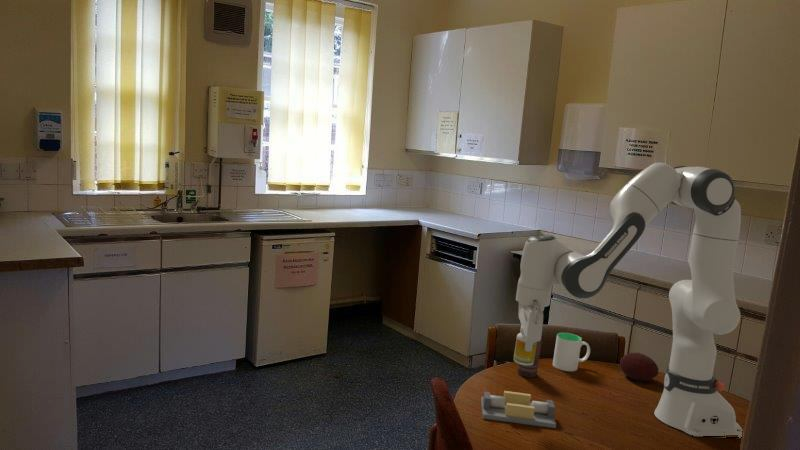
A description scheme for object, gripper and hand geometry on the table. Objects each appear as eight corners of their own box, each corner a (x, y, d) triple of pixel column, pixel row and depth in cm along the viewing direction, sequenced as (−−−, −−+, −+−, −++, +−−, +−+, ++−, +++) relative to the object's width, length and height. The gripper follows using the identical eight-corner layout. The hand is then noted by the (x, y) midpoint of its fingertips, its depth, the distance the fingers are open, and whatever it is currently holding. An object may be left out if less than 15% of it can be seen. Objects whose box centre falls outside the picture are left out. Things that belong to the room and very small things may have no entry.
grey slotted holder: (549, 409, 169) (551, 395, 169) (555, 428, 159) (557, 413, 158) (481, 400, 171) (482, 386, 170) (482, 418, 160) (484, 403, 159)
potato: (614, 369, 206) (617, 346, 205) (647, 373, 206) (651, 349, 204) (625, 383, 194) (629, 358, 193) (660, 387, 194) (664, 362, 193)
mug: (580, 362, 210) (584, 333, 208) (592, 371, 202) (597, 341, 200) (548, 361, 207) (552, 332, 205) (559, 371, 199) (563, 340, 198)
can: (513, 370, 196) (518, 328, 194) (530, 369, 198) (536, 328, 196) (522, 378, 190) (528, 335, 188) (540, 377, 192) (546, 335, 190)
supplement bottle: (533, 367, 159) (539, 332, 158) (513, 363, 160) (518, 328, 159) (533, 360, 165) (538, 326, 163) (513, 356, 166) (518, 322, 164)
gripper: (551, 308, 149) (543, 361, 151) (540, 288, 169) (533, 335, 172) (525, 305, 150) (518, 358, 152) (517, 285, 170) (511, 332, 172)
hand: (526, 346), depth 162 cm, fingers closed on supplement bottle, 5 cm apart
